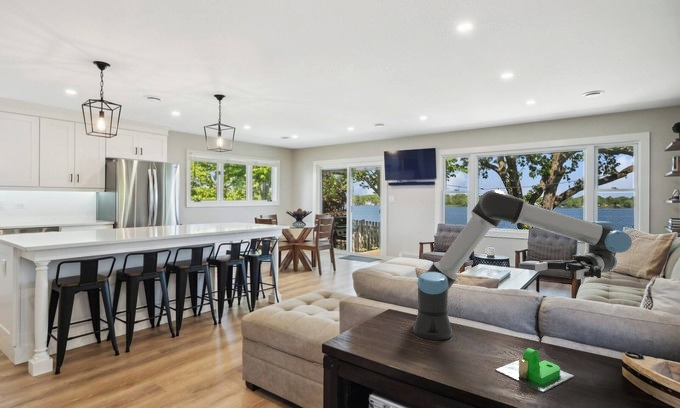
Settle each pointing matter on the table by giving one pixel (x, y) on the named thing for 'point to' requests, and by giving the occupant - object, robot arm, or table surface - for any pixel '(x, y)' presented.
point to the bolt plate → (520, 373)
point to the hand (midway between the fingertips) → (555, 271)
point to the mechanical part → (540, 368)
